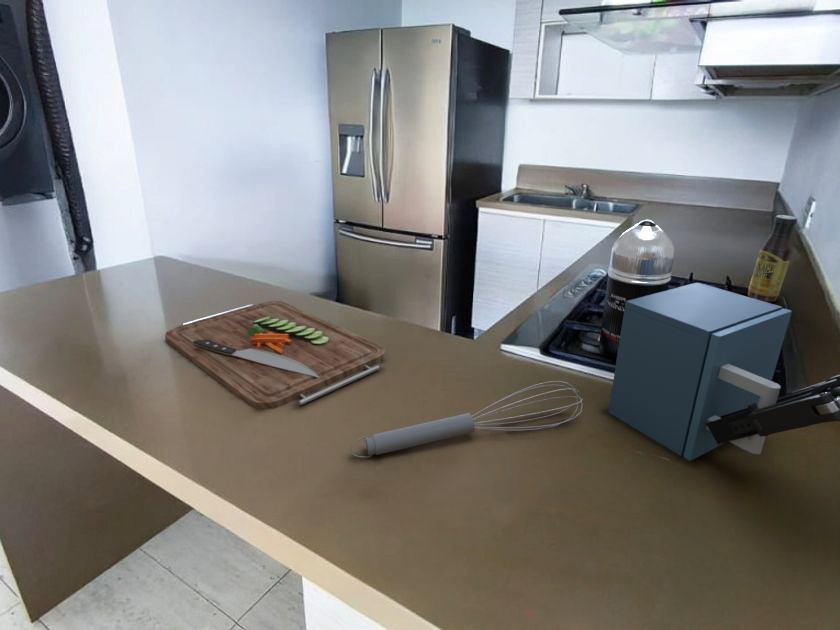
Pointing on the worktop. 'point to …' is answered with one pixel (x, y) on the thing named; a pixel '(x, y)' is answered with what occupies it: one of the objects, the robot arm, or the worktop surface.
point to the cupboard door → (737, 378)
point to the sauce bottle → (773, 261)
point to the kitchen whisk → (448, 427)
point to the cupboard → (671, 356)
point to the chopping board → (275, 352)
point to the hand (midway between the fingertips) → (719, 429)
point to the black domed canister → (634, 276)
